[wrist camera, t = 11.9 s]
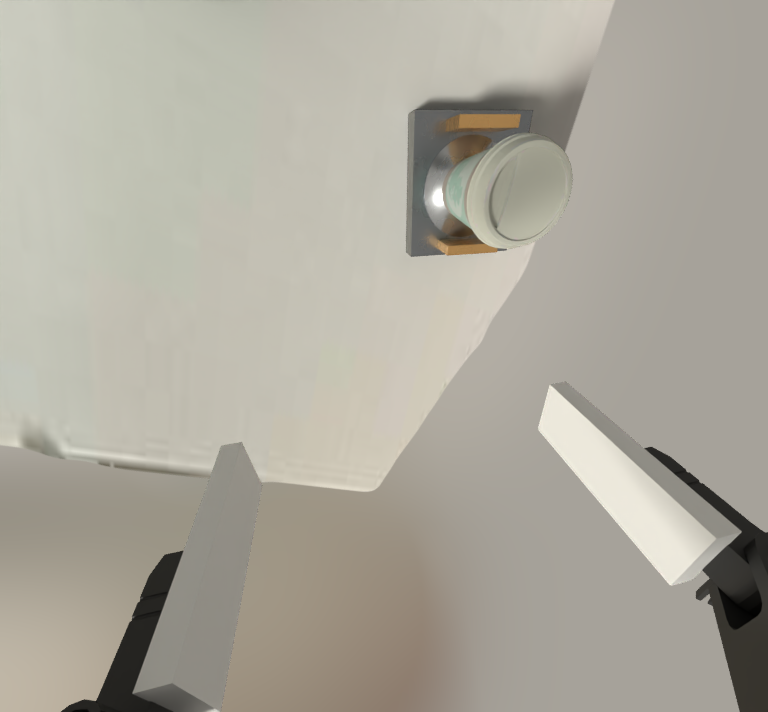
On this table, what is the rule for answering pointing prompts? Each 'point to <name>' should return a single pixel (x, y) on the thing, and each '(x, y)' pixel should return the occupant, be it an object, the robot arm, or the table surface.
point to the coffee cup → (510, 190)
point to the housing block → (433, 161)
